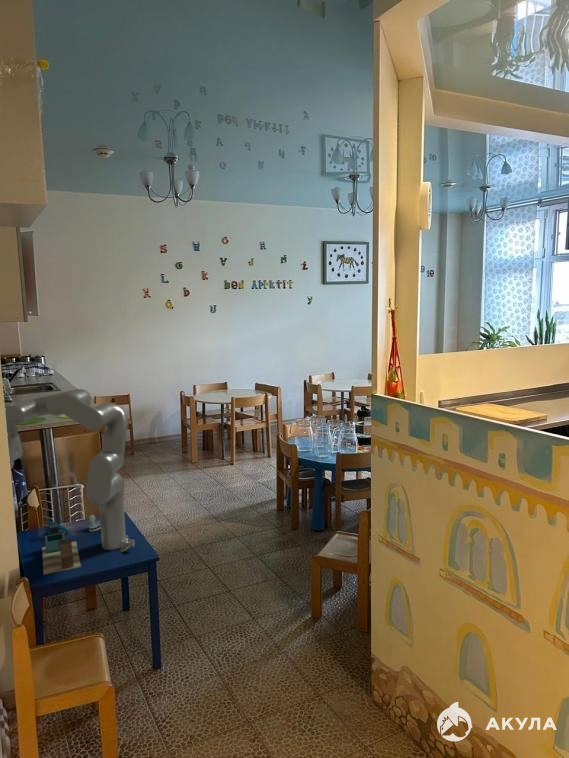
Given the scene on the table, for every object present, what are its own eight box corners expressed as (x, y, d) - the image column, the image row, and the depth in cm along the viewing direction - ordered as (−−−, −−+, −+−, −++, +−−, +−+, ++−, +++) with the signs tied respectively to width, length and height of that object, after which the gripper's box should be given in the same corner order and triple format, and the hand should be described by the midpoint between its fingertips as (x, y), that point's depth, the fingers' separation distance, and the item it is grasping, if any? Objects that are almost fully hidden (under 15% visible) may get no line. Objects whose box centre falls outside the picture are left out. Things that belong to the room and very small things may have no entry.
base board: (81, 570, 213) (80, 566, 213) (43, 578, 208) (43, 574, 208) (76, 544, 235) (76, 541, 235) (42, 551, 230) (42, 547, 229)
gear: (74, 531, 243) (56, 520, 238) (67, 544, 241) (48, 533, 235) (63, 527, 251) (44, 517, 245) (55, 540, 248) (36, 530, 243)
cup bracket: (66, 559, 219) (64, 536, 217) (47, 563, 216) (45, 540, 214) (64, 544, 231) (62, 522, 230) (46, 548, 229) (44, 526, 227)
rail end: (73, 566, 213) (71, 544, 212) (62, 568, 212) (60, 546, 210) (72, 561, 217) (70, 539, 215) (61, 564, 215) (59, 542, 214)
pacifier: (105, 527, 251) (97, 524, 255) (104, 514, 250) (96, 511, 253) (91, 533, 245) (83, 530, 249) (90, 520, 244) (82, 516, 248)
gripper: (3, 438, 221) (7, 480, 224) (28, 427, 238) (32, 466, 241) (-15, 438, 222) (-10, 480, 225) (11, 427, 239) (15, 466, 242)
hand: (12, 473), depth 233 cm, fingers open, 9 cm apart
